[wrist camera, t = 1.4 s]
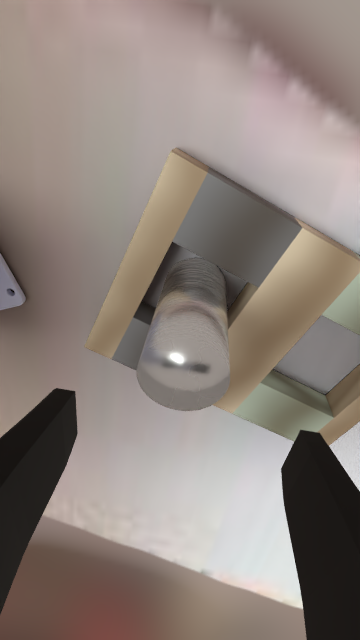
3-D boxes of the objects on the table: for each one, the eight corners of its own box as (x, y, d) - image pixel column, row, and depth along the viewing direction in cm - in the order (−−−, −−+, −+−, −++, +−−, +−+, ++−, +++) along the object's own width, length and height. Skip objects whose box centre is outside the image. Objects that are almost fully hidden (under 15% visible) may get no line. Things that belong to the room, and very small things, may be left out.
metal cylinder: (156, 265, 19) (123, 348, 12) (218, 251, 18) (219, 330, 11) (174, 317, 21) (153, 415, 14) (231, 306, 20) (238, 404, 13)
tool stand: (94, 329, 22) (84, 346, 20) (175, 147, 16) (170, 150, 14) (312, 429, 25) (319, 452, 23) (452, 309, 19) (475, 328, 17)
